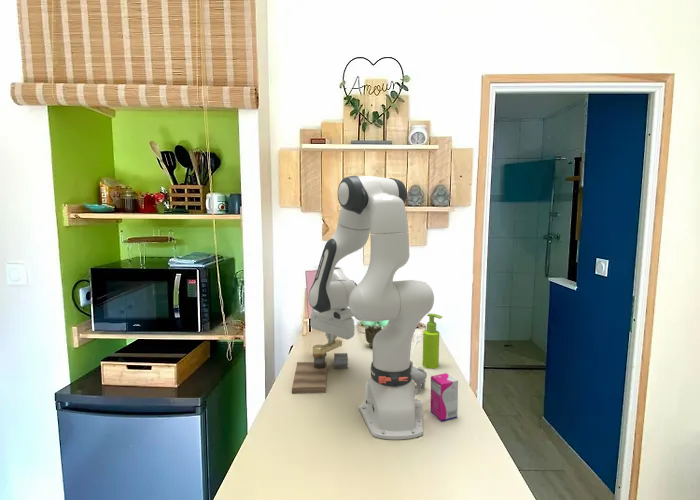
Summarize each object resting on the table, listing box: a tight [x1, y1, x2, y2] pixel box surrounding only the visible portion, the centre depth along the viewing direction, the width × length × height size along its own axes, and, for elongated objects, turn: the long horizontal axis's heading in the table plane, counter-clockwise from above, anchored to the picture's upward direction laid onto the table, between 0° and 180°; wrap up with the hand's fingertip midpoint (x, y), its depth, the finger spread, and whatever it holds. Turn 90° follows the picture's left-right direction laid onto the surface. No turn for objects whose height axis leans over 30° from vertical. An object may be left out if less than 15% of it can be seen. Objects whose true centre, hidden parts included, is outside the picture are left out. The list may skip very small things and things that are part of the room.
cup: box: [364, 325, 383, 349], centre depth 169 cm, size 8×7×8 cm
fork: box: [410, 333, 422, 354], centre depth 173 cm, size 3×20×2 cm, turn 162°
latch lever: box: [312, 338, 343, 358], centre depth 148 cm, size 14×5×3 cm, turn 140°
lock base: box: [291, 352, 349, 394], centre depth 141 cm, size 23×19×6 cm
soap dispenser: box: [422, 313, 443, 370], centre depth 150 cm, size 6×7×20 cm
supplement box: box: [430, 372, 459, 423], centre depth 116 cm, size 6×6×12 cm
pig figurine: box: [410, 359, 427, 394], centre depth 134 cm, size 5×13×11 cm, turn 54°
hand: (331, 344), depth 153 cm, fingers closed
